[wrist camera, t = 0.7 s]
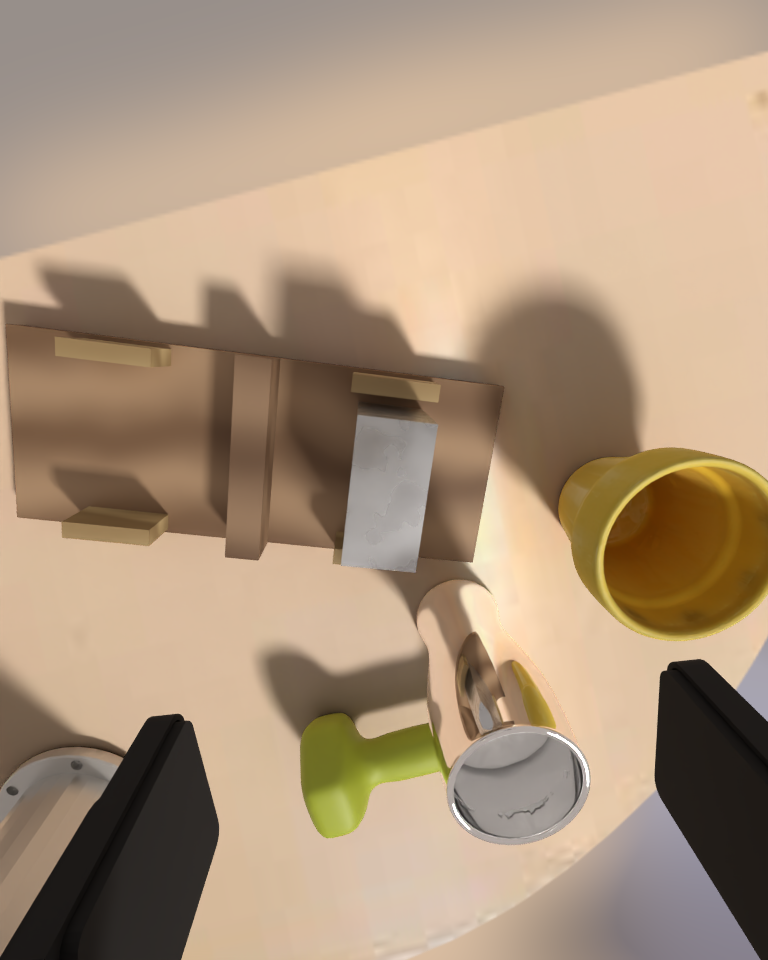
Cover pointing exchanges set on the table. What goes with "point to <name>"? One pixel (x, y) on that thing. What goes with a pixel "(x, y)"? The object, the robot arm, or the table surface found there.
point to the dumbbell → (355, 768)
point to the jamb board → (224, 443)
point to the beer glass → (496, 723)
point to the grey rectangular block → (388, 487)
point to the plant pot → (670, 539)
